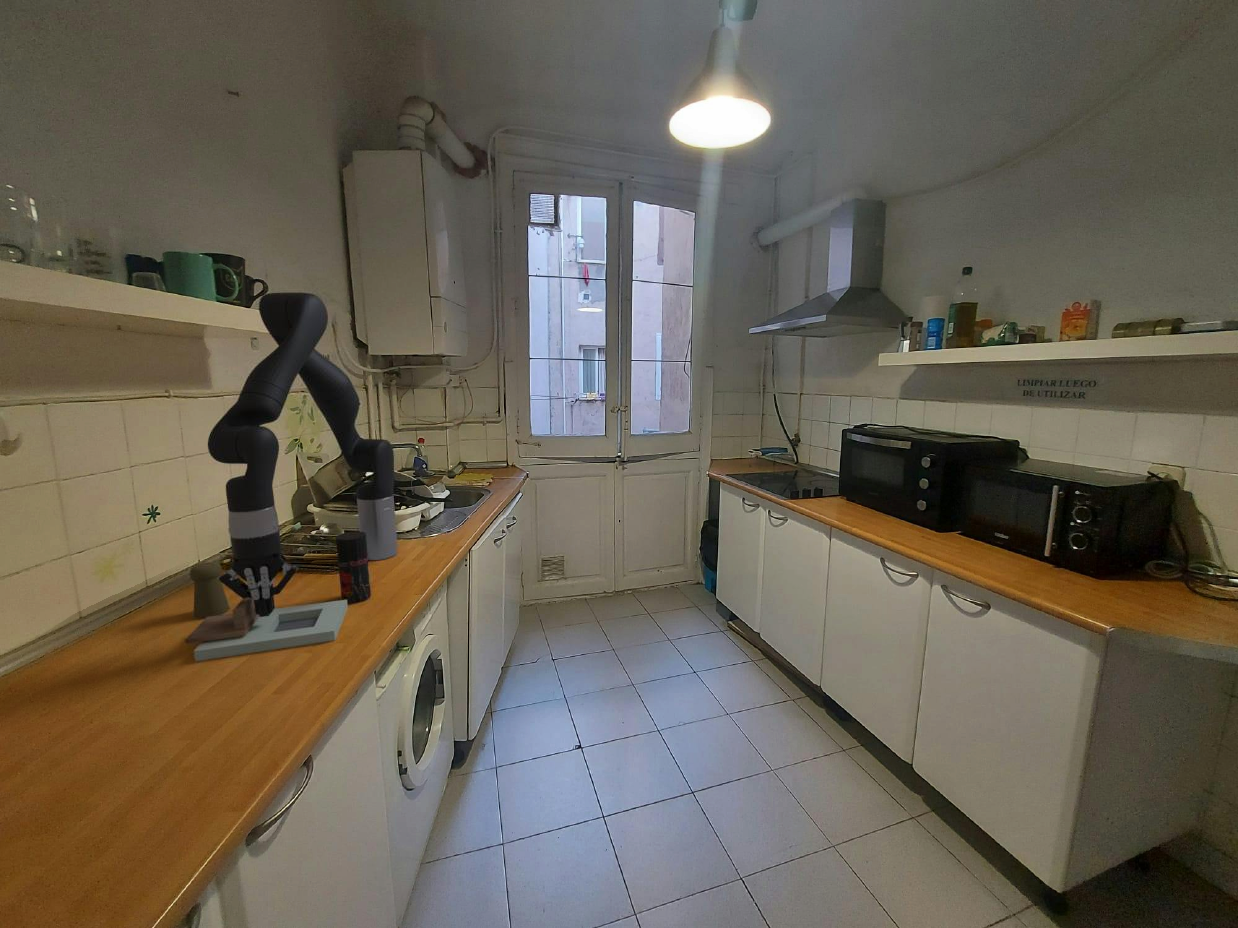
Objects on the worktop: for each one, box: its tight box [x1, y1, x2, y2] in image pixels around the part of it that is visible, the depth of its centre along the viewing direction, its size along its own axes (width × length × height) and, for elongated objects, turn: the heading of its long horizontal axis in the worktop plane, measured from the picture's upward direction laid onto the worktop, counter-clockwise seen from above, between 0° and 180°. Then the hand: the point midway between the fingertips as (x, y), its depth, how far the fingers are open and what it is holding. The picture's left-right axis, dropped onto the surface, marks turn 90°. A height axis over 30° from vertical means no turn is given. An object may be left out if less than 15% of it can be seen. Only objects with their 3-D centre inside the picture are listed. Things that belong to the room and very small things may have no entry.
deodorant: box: [335, 531, 372, 605], centre depth 111 cm, size 6×6×15 cm
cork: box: [189, 561, 231, 620], centre depth 103 cm, size 6×6×11 cm
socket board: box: [193, 599, 349, 662], centre depth 97 cm, size 14×22×2 cm, turn 110°
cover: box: [184, 598, 259, 645], centre depth 93 cm, size 9×9×5 cm
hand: (265, 614), depth 95 cm, fingers closed
